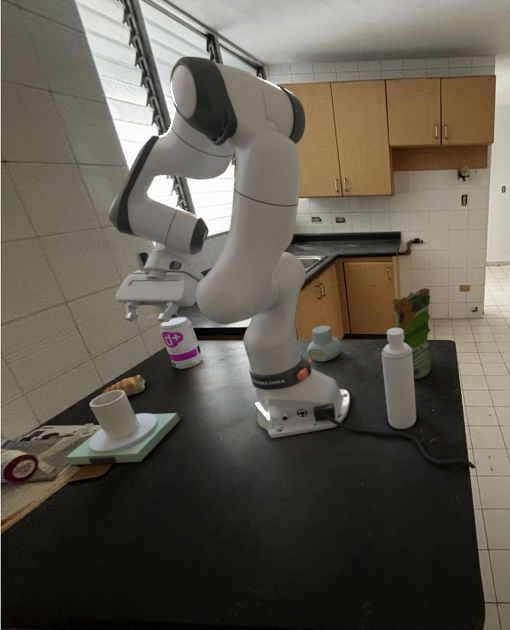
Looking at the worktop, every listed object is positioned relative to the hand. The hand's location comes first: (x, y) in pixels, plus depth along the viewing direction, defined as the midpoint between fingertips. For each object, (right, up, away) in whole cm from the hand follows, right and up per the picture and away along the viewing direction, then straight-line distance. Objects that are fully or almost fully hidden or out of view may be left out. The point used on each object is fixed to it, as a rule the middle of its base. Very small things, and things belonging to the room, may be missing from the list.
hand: (146, 320), depth 81 cm
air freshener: (+35, -12, +29) cm, 47 cm away
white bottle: (+62, -24, -1) cm, 66 cm away
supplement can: (-10, -14, +29) cm, 33 cm away
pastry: (-17, -21, +15) cm, 31 cm away
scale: (-1, -28, -4) cm, 28 cm away
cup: (-1, -25, -5) cm, 25 cm away
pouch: (+65, -15, +18) cm, 69 cm away
